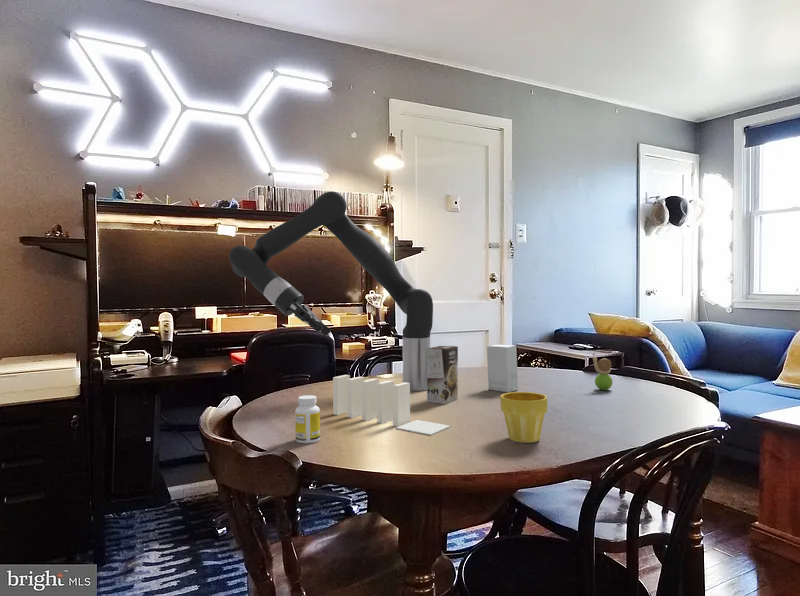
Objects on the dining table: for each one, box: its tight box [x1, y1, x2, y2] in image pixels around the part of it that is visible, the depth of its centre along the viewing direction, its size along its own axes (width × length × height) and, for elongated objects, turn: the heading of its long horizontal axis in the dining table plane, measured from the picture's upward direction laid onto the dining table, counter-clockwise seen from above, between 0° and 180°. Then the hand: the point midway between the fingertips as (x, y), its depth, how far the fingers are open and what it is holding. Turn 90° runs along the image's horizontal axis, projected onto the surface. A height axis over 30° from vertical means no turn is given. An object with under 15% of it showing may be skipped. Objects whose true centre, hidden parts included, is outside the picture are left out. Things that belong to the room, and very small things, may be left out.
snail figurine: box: [592, 353, 613, 391], centre depth 177 cm, size 5×6×12 cm
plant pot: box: [499, 391, 549, 444], centre depth 121 cm, size 10×10×10 cm
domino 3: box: [361, 378, 380, 422], centre depth 140 cm, size 2×5×10 cm, turn 144°
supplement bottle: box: [294, 395, 321, 444], centre depth 121 cm, size 5×5×10 cm
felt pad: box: [395, 419, 452, 436], centre depth 131 cm, size 10×9×1 cm
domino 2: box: [346, 376, 365, 419], centre depth 143 cm, size 2×5×10 cm, turn 144°
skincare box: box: [486, 344, 519, 393], centre depth 177 cm, size 8×6×15 cm
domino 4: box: [376, 379, 395, 425], centre depth 138 cm, size 2×5×10 cm, turn 144°
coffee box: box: [426, 345, 459, 405], centre depth 162 cm, size 9×6×16 cm
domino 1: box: [332, 374, 351, 416], centre depth 146 cm, size 2×5×10 cm, turn 144°
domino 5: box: [392, 382, 411, 427], centre depth 135 cm, size 2×5×10 cm, turn 144°
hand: (324, 331), depth 151 cm, fingers open, 8 cm apart
